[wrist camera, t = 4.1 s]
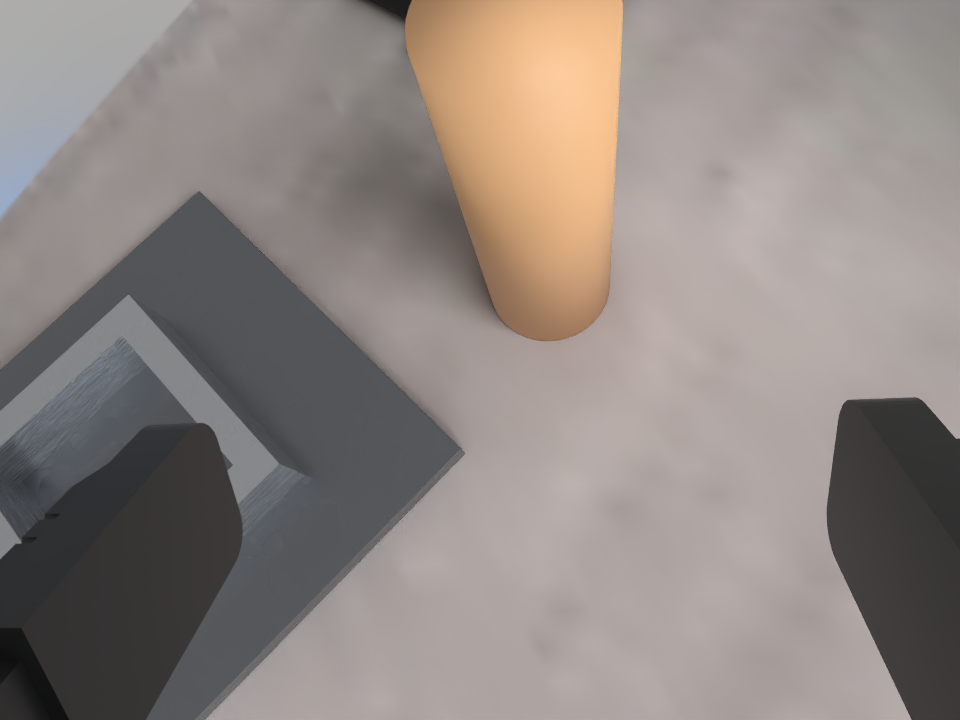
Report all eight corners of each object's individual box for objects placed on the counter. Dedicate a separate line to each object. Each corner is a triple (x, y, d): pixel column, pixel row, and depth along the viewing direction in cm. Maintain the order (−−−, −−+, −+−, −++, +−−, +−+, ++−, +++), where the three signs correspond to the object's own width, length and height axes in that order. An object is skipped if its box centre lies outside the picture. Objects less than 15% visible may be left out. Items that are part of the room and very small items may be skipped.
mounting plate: (209, 202, 28) (169, 160, 25) (465, 453, 23) (448, 434, 21) (-129, 509, 26) (-212, 498, 23) (78, 849, 21) (5, 883, 19)
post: (547, 210, 25) (509, -99, 14) (635, 280, 24) (670, -1, 13) (466, 289, 25) (361, 33, 14) (551, 365, 24) (513, 151, 12)
